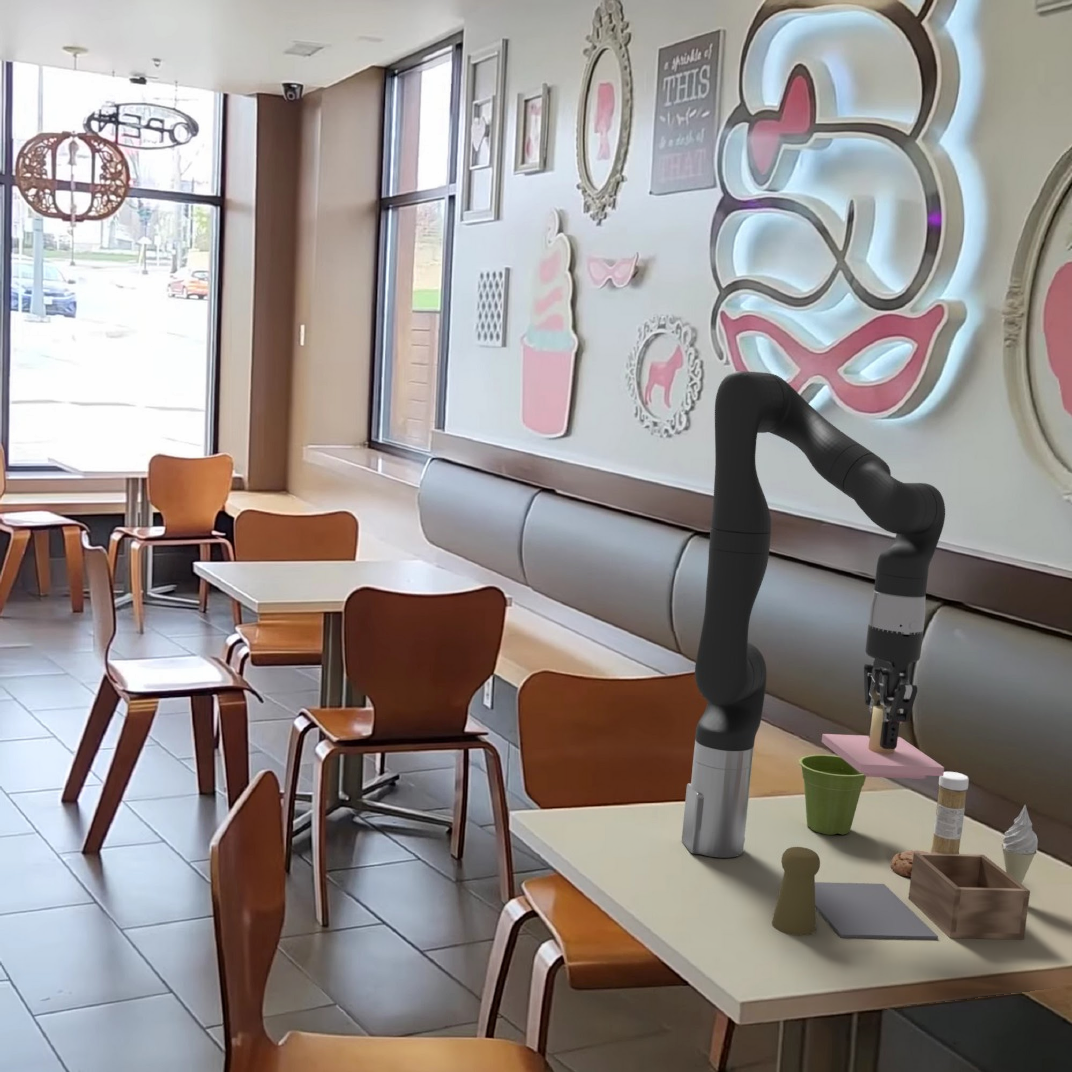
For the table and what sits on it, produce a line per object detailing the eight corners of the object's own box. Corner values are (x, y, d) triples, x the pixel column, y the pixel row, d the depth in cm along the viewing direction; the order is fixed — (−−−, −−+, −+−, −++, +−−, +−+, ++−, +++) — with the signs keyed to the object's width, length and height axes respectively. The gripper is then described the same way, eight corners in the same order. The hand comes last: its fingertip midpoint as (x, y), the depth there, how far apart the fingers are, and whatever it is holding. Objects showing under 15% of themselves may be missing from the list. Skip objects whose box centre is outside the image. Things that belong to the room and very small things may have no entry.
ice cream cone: (1013, 908, 205) (1025, 810, 203) (987, 896, 209) (999, 799, 207) (1037, 905, 207) (1050, 808, 205) (1011, 892, 211) (1023, 797, 209)
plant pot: (790, 813, 241) (797, 751, 240) (860, 822, 240) (867, 759, 238) (793, 836, 229) (800, 770, 228) (866, 844, 228) (874, 778, 227)
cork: (806, 939, 187) (815, 861, 186) (764, 926, 190) (773, 849, 189) (822, 925, 192) (830, 849, 191) (781, 913, 195) (789, 838, 194)
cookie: (877, 864, 220) (879, 846, 219) (931, 860, 224) (933, 842, 224) (917, 888, 211) (919, 869, 210) (972, 883, 215) (975, 864, 215)
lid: (859, 780, 188) (865, 721, 187) (820, 748, 203) (826, 693, 202) (942, 783, 190) (949, 724, 189) (898, 751, 205) (904, 697, 204)
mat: (840, 937, 189) (841, 934, 189) (795, 884, 207) (795, 881, 207) (937, 939, 191) (937, 936, 191) (883, 886, 209) (884, 883, 209)
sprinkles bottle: (941, 847, 229) (950, 769, 228) (965, 856, 226) (974, 777, 224) (924, 852, 226) (934, 772, 225) (948, 861, 223) (958, 780, 221)
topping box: (949, 937, 192) (955, 889, 191) (908, 898, 205) (913, 852, 204) (1023, 939, 193) (1030, 891, 192) (977, 899, 207) (983, 854, 206)
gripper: (851, 613, 200) (838, 729, 202) (890, 633, 186) (876, 757, 189) (900, 616, 201) (887, 731, 204) (943, 636, 188) (928, 759, 190)
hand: (882, 743), depth 196 cm, fingers closed on lid, 3 cm apart
